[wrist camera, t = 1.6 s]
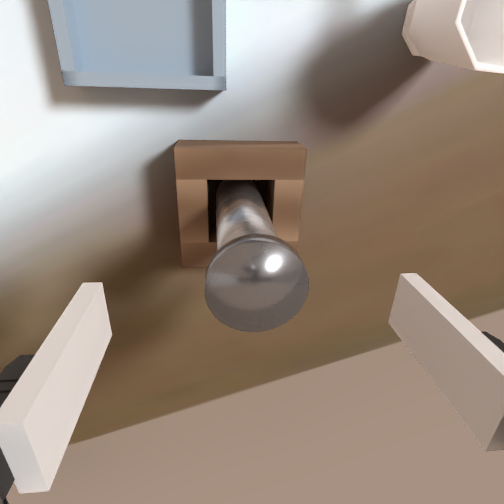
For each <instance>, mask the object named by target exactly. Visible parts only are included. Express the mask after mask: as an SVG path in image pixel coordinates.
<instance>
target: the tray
mask: <svg viewBox="0 0 504 504" xmlns="http://www.w3.org/2000/svg"><path fill="white" fill-rule="evenodd" d="M48 4H49V9H50V14H51V20H52V25H53V30H54V35H55V40H56V45H57V50H58V56H59V61H60V66H61V71H62V76H63V81H64V86H94V87H127V88H160V89H194V90H226V0H48Z"/></svg>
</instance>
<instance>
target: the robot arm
mask: <svg viewBox="0 0 504 504" xmlns="http://www.w3.org/2000/svg"><path fill="white" fill-rule="evenodd" d="M388 323H389V324H390V325H391V327H392V328H393V329H394V331H395V332H396V333H397V335H398V336H399V337H400V339H401V340H402V341H403V343H404V344H405V345H406V347H407V348H408V349H409V351H410V352H411V353H412V355H413V356H414V357H415V359H416V360H417V361H418V363H419V364H420V365H421V367H422V368H423V369H424V371H425V372H426V373H427V374H428V376H429V377H430V378H431V380H432V381H433V383H434V384H435V385H436V387H437V388H438V389H439V390H440V392H441V393H442V395H443V396H444V397H445V399H446V400H447V401H448V403H449V404H450V405H451V407H452V408H453V409H454V411H455V412H456V413H457V415H458V416H459V417H460V419H461V420H462V421H463V422H464V424H465V425H466V427H467V428H468V429H469V431H470V432H471V433H472V435H473V436H474V437H475V439H476V440H477V441H478V443H479V444H480V445H481V447H482V448H483V449H484V451H496V450H504V343H503V342H502V341H501V340H499V339H497V338H495V337H494V336H492V335H490V334H489V333H487V332H480V331H479V330H478V329H477V328H476V327H475V326H474V325H473V324H472V323H470V322H469V321H468V320H467V319H466V318H465V317H464V316H463V315H462V314H461V313H459V312H458V311H457V310H456V309H455V308H454V307H453V306H452V305H451V304H450V303H448V302H447V301H446V300H445V299H444V298H443V297H442V296H441V295H440V294H439V293H437V292H436V291H435V290H434V289H433V288H432V287H431V286H430V285H429V284H428V283H426V282H425V281H424V280H423V279H422V278H421V277H420V276H419V275H418V274H417V273H406V274H400V278H399V282H398V286H397V290H396V294H395V298H394V302H393V306H392V310H391V314H390V318H389V322H388ZM111 336H112V332H111V327H110V322H109V316H108V311H107V306H106V300H105V295H104V290H103V284H102V282H95V283H82V285H81V286H80V288H79V289H78V291H77V292H76V294H75V295H74V297H73V299H72V300H71V302H70V303H69V305H68V306H67V308H66V309H65V311H64V312H63V314H62V315H61V317H60V318H59V320H58V321H57V323H56V324H55V326H54V327H53V329H52V330H51V332H50V333H49V335H48V336H47V338H46V339H45V341H44V342H43V344H42V345H41V347H40V348H39V350H38V351H37V353H36V354H35V355H20V356H19V357H17V358H16V359H15V360H14V361H12V362H11V363H10V364H9V365H7V366H6V367H5V368H4V369H3V371H2V372H1V373H0V504H9V503H8V501H7V499H6V495H7V494H8V492H9V490H10V488H11V486H12V484H13V482H15V485H16V487H17V489H18V491H19V493H20V494H21V493H32V492H42V491H49V490H50V487H51V484H52V482H53V480H54V477H55V475H56V472H57V470H58V467H59V465H60V462H61V460H62V457H63V455H64V452H65V450H66V447H67V445H68V443H69V440H70V438H71V435H72V433H73V430H74V428H75V425H76V423H77V420H78V418H79V415H80V413H81V410H82V408H83V406H84V403H85V401H86V398H87V396H88V393H89V391H90V388H91V386H92V383H93V381H94V378H95V376H96V373H97V371H98V368H99V366H100V363H101V361H102V359H103V356H104V354H105V351H106V349H107V346H108V344H109V341H110V339H111Z"/></svg>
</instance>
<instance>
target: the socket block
mask: <svg viewBox="0 0 504 504" xmlns="http://www.w3.org/2000/svg"><path fill="white" fill-rule="evenodd" d="M306 156H307V149H306V148H304V147H303V146H301V145H300V144H299V143H297V142H289V141H221V140H178V142H177V143H176V145H175V147H174V160H175V174H176V188H177V202H178V216H179V230H180V244H181V258H182V267H207V266H208V263H209V261H210V260H211V258H212V256H213V255H214V254H215V252H216V251H217V229H216V225H209V203H208V180H267V199H266V210H267V212H268V214H269V217H270V219H271V222H272V224H273V226H274V229H275V231H276V233H277V236H278V238H280V239H282V240H284V241H285V242H287V243H288V244H290V245H291V246H292V247H293V248H294V249H295V250H296V252H297V248H298V237H299V227H300V217H301V207H302V197H303V187H304V177H305V166H306Z"/></svg>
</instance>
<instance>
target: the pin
mask: <svg viewBox="0 0 504 504" xmlns="http://www.w3.org/2000/svg"><path fill="white" fill-rule="evenodd" d="M216 229H217V251H216V252H215V254H214V255H213V256H212V258H211V260H210V261H209V263H208V266H207V269H206V274H205V299H206V302H207V305H208V307H209V309H210V311H211V312H212V314H213V315H214V316H215V317H216V318H217V319H218V320H219V321H220V322H222V323H223V324H225V325H227V326H229V327H231V328H233V329H236V330H240V331H246V332H260V331H266V330H270V329H273V328H276V327H278V326H281V325H282V324H284V323H286V322H287V321H289V320H290V319H291V318H293V317H294V316H295V315H296V314H297V313H298V312H299V310H300V309H301V308H302V306H303V304H304V302H305V300H306V298H307V295H308V290H309V278H308V274H307V271H306V269H305V266H304V264H303V262H302V260H301V258H300V256H299V255H298V253H297V252H296V250H295V249H294V248H293V247H292V246H291V245H290V244H288V243H287V242H285V241H284V240H282V239H280V238H278V236H277V233H276V231H275V229H274V226H273V224H272V222H271V219H270V217H269V214H268V212H267V210H266V207H265V205H264V202H263V200H262V198H261V195H260V193H259V190H258V188H257V186H256V185H255V183H254V182H253V181H251V180H224V181H223V182H222V183H221V184H220V185H219V187H218V189H217V192H216Z"/></svg>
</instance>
